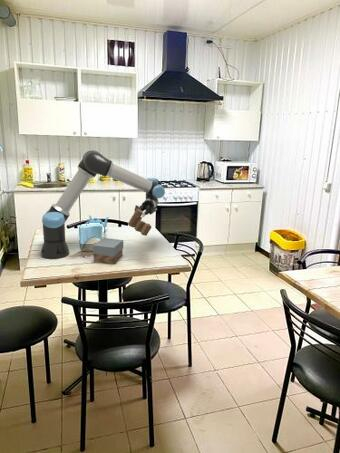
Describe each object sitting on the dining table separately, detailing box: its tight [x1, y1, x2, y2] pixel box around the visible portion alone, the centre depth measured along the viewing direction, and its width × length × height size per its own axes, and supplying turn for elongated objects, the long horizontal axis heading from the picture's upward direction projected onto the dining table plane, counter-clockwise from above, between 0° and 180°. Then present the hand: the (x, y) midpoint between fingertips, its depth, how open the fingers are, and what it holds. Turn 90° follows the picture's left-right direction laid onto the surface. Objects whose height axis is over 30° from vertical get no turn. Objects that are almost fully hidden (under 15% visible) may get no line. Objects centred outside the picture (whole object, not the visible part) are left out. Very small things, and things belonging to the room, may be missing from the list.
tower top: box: [92, 237, 124, 256], centre depth 191 cm, size 12×14×5 cm
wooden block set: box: [127, 209, 152, 237], centre depth 190 cm, size 18×9×10 cm, turn 26°
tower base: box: [93, 248, 124, 265], centre depth 192 cm, size 12×14×5 cm
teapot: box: [84, 215, 109, 231], centre depth 239 cm, size 15×15×10 cm
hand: (140, 214), depth 187 cm, fingers closed on wooden block set, 2 cm apart
